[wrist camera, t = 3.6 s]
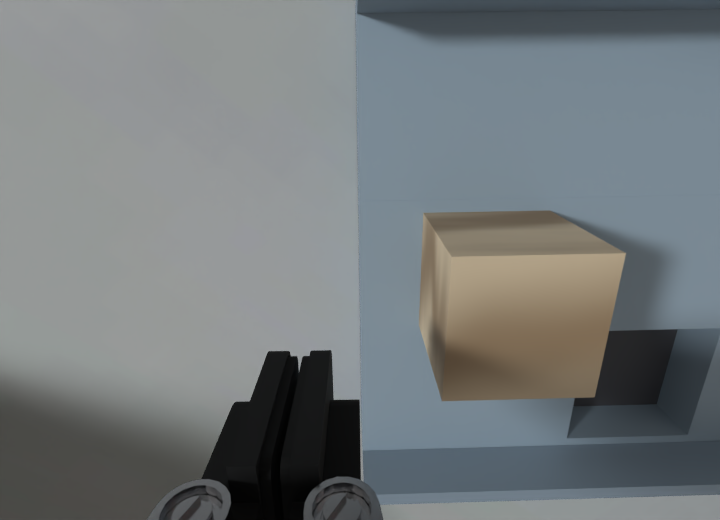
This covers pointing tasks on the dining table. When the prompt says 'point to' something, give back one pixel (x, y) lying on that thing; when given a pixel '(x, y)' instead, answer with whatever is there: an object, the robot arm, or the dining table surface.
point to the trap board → (563, 197)
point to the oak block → (515, 304)
